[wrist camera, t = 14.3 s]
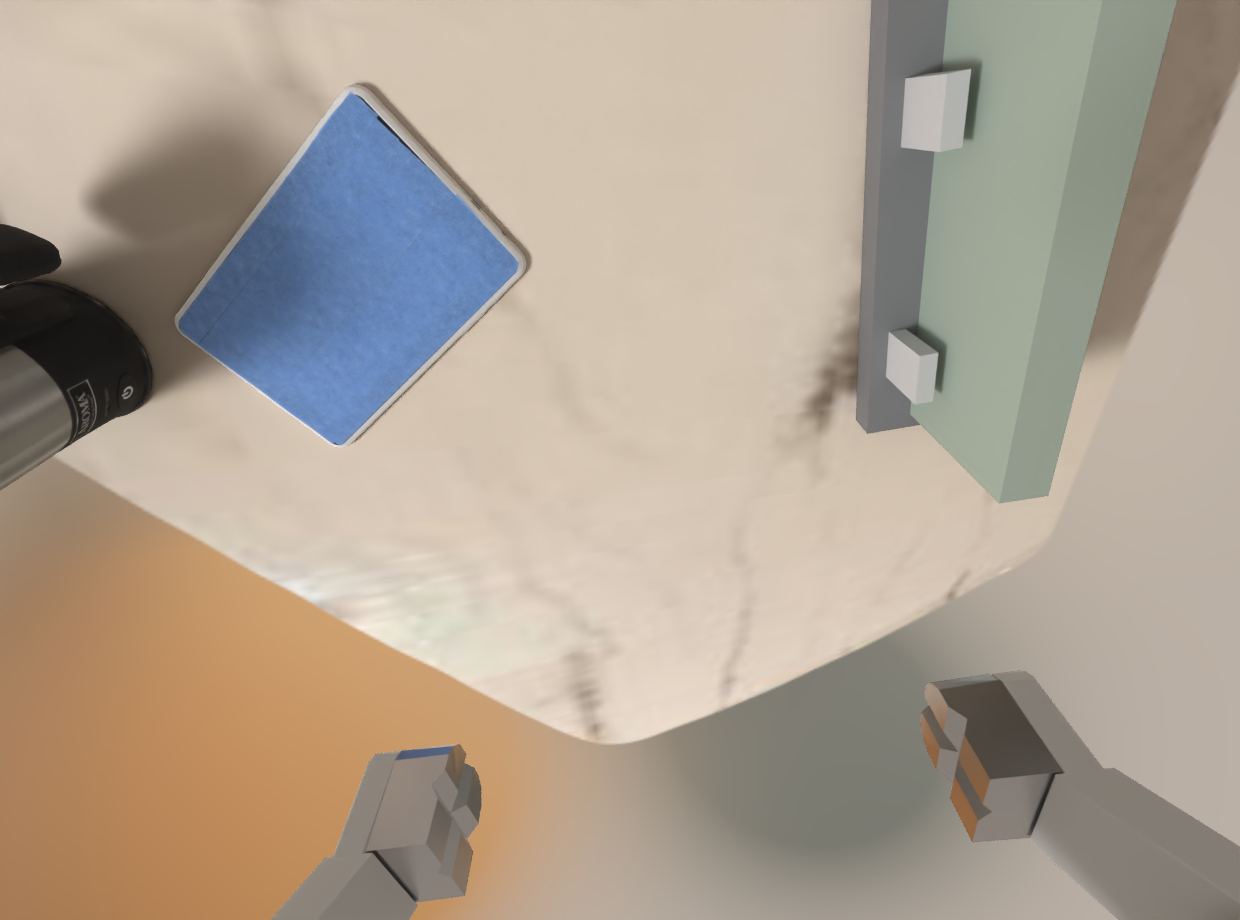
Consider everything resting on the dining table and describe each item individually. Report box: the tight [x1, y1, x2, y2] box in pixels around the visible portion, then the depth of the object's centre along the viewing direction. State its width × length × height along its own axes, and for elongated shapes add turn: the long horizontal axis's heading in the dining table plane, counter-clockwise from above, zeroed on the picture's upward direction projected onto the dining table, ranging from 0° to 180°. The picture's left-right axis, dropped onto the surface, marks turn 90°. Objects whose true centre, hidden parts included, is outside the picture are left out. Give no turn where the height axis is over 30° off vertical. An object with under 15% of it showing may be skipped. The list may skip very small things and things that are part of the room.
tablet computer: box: [174, 84, 527, 448], centre depth 35 cm, size 19×13×1 cm, turn 131°
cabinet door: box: [910, 0, 1177, 503], centre depth 27 cm, size 22×4×10 cm, turn 11°
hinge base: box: [856, 0, 971, 434], centre depth 31 cm, size 24×8×6 cm, turn 11°
